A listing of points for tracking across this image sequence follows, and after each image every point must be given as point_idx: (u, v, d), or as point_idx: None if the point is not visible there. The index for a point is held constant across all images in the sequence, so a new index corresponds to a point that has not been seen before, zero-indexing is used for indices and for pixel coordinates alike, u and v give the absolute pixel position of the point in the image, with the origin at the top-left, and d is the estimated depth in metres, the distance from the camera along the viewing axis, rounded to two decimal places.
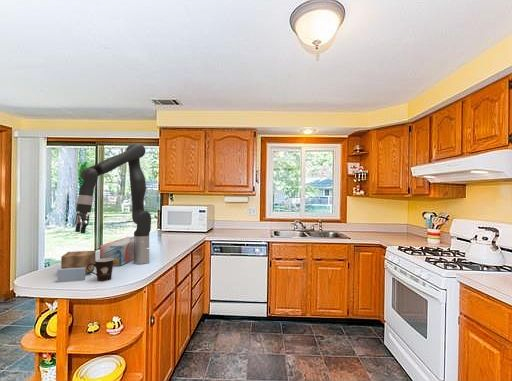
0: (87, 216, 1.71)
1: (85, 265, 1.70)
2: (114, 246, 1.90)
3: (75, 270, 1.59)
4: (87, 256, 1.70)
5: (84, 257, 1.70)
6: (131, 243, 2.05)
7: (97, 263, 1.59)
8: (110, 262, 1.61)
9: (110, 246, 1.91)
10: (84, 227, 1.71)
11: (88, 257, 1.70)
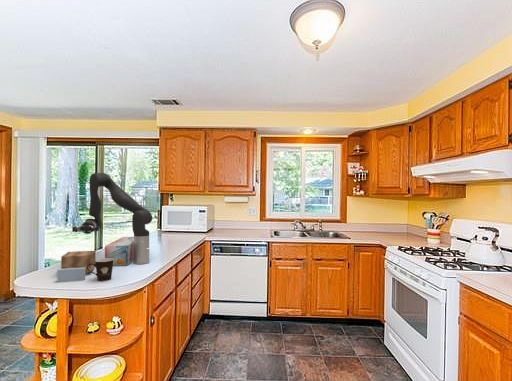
0: None
1: (85, 265, 1.70)
2: (120, 246, 1.91)
3: (75, 270, 1.59)
4: (87, 256, 1.70)
5: (84, 257, 1.70)
6: (133, 243, 2.06)
7: (97, 263, 1.59)
8: (110, 262, 1.61)
9: (116, 246, 1.91)
10: None
11: (88, 257, 1.70)
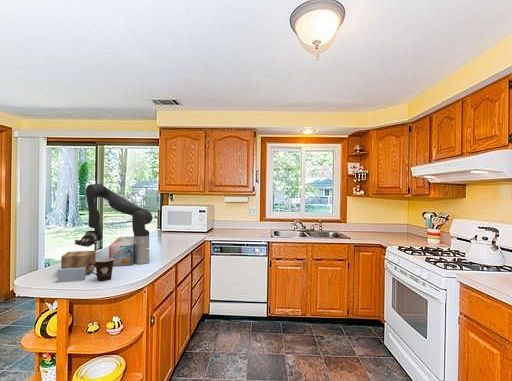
0: (75, 241, 1.91)
1: (85, 265, 1.70)
2: (124, 246, 1.92)
3: (75, 270, 1.59)
4: (87, 256, 1.70)
5: (84, 257, 1.70)
6: None
7: (97, 263, 1.59)
8: (110, 262, 1.61)
9: (120, 246, 1.91)
10: None
11: (88, 257, 1.70)
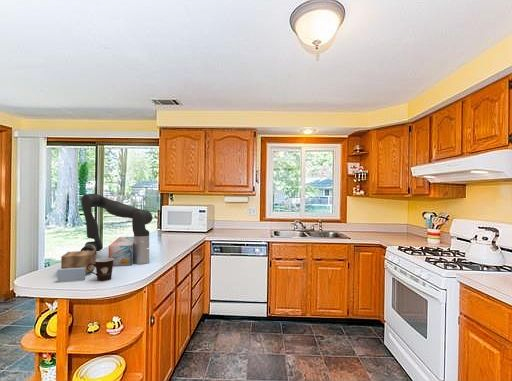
0: None
1: (85, 265, 1.70)
2: (124, 246, 1.92)
3: (75, 270, 1.59)
4: (87, 256, 1.70)
5: (84, 257, 1.70)
6: None
7: (97, 263, 1.59)
8: (110, 262, 1.61)
9: (120, 246, 1.91)
10: None
11: (88, 257, 1.70)
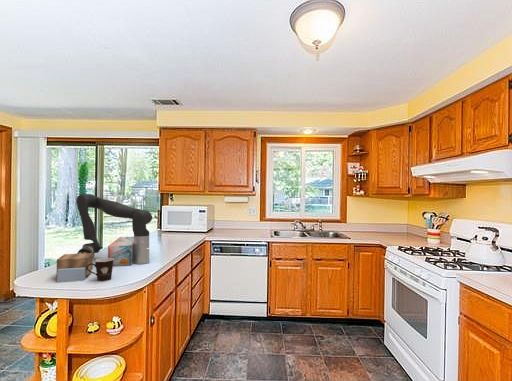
0: None
1: None
2: (123, 246, 1.92)
3: (75, 270, 1.59)
4: (84, 259, 1.63)
5: (80, 260, 1.63)
6: None
7: (97, 263, 1.59)
8: (110, 262, 1.61)
9: (119, 246, 1.91)
10: None
11: (85, 260, 1.63)
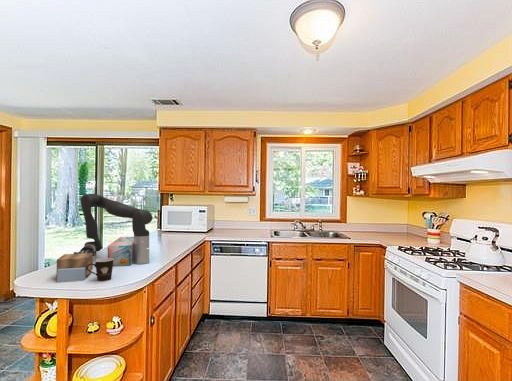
0: None
1: None
2: (123, 246, 1.92)
3: (75, 270, 1.59)
4: (84, 259, 1.63)
5: (80, 260, 1.63)
6: None
7: (97, 263, 1.59)
8: (110, 262, 1.61)
9: (119, 246, 1.91)
10: None
11: (85, 260, 1.63)
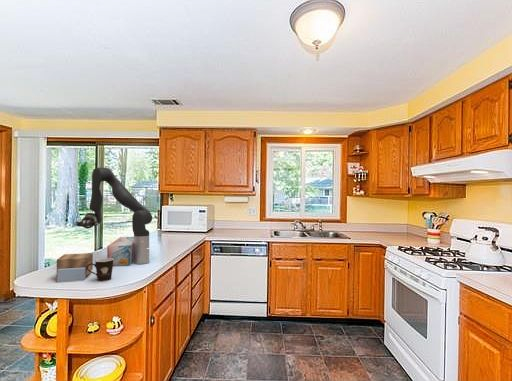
0: (75, 223, 1.89)
1: None
2: (123, 246, 1.92)
3: (75, 270, 1.59)
4: (84, 259, 1.63)
5: (80, 260, 1.63)
6: None
7: (97, 263, 1.59)
8: (110, 262, 1.61)
9: (118, 246, 1.91)
10: None
11: (85, 260, 1.63)
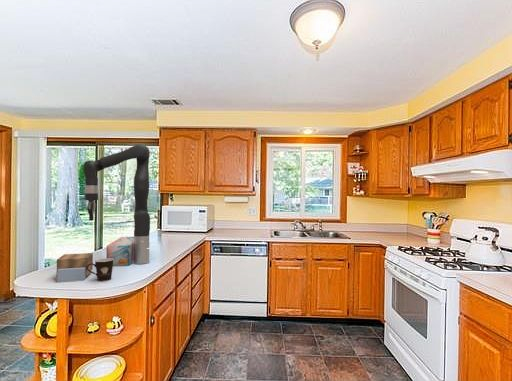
0: (90, 207, 1.91)
1: None
2: (122, 246, 1.91)
3: (75, 270, 1.59)
4: (84, 259, 1.63)
5: (80, 260, 1.63)
6: (133, 243, 2.06)
7: (97, 263, 1.59)
8: (110, 262, 1.61)
9: (117, 246, 1.91)
10: (91, 215, 1.96)
11: (85, 260, 1.63)
